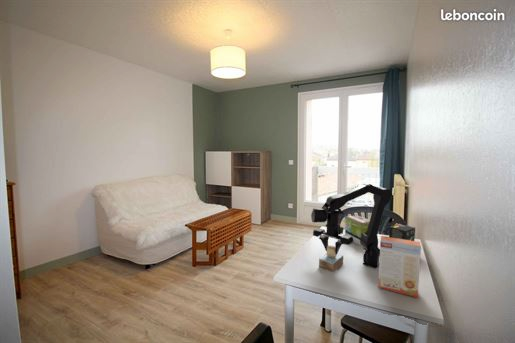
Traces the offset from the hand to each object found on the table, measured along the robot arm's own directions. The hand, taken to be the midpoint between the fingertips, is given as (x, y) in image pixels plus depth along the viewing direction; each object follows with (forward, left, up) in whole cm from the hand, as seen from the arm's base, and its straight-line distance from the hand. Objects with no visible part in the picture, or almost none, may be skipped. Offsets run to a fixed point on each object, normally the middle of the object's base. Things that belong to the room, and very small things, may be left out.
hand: (331, 252), depth 118 cm
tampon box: (-21, -44, -7) cm, 49 cm away
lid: (0, 0, -3) cm, 3 cm away
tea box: (+3, -44, -7) cm, 45 cm away
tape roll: (0, 0, -1) cm, 1 cm away
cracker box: (-29, +1, -7) cm, 30 cm away
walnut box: (0, 0, -6) cm, 6 cm away
